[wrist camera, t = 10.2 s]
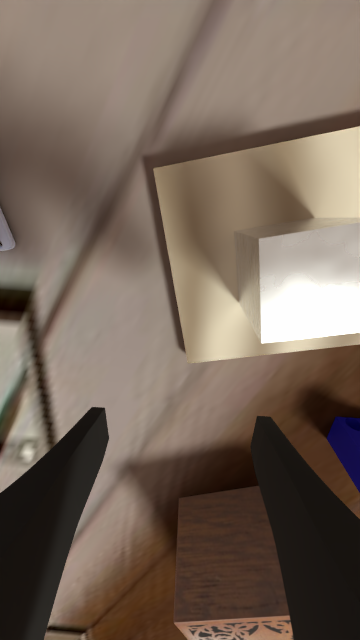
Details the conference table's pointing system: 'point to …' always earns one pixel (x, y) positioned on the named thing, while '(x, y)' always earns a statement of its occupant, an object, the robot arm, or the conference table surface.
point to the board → (243, 213)
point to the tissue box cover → (228, 569)
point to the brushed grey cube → (300, 278)
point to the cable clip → (347, 445)
